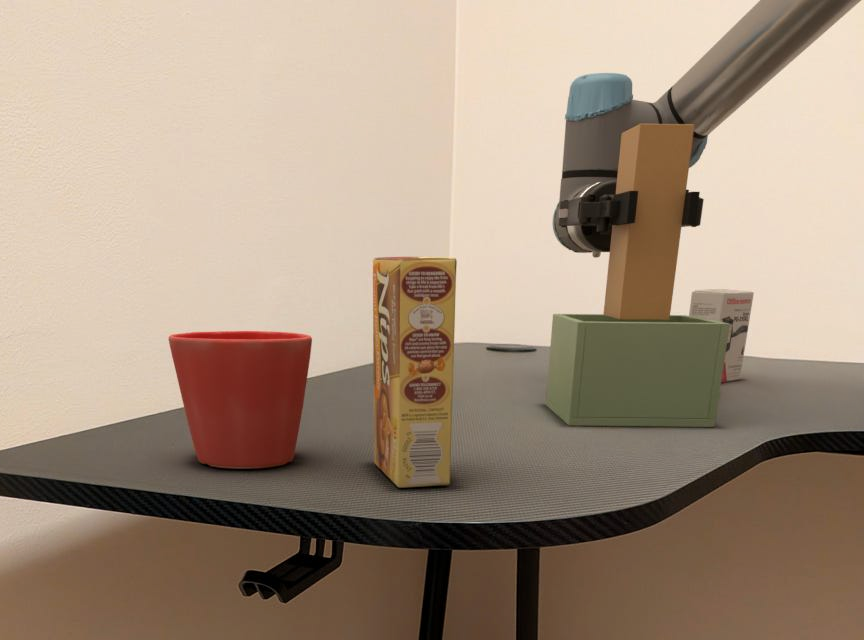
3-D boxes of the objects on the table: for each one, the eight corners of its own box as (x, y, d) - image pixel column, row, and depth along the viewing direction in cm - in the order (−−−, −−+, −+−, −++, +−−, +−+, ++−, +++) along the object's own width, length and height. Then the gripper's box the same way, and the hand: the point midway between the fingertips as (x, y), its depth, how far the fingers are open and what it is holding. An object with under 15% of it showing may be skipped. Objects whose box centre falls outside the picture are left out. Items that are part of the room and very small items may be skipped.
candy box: (452, 487, 65) (462, 257, 59) (395, 490, 65) (399, 256, 59) (420, 462, 73) (426, 256, 67) (369, 464, 72) (370, 256, 66)
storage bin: (673, 406, 103) (685, 315, 99) (714, 427, 91) (730, 323, 87) (545, 405, 103) (552, 313, 99) (568, 425, 90) (578, 321, 87)
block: (650, 316, 96) (672, 133, 90) (669, 320, 90) (694, 124, 83) (603, 315, 96) (621, 133, 90) (619, 319, 90) (640, 123, 83)
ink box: (712, 384, 122) (725, 290, 118) (678, 381, 125) (690, 289, 121) (741, 379, 128) (755, 289, 123) (708, 376, 131) (721, 288, 126)
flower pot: (234, 442, 80) (228, 327, 76) (338, 456, 75) (337, 333, 71) (149, 463, 72) (137, 334, 68) (260, 480, 67) (254, 342, 63)
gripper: (678, 253, 107) (752, 252, 86) (525, 251, 107) (562, 250, 86) (687, 182, 104) (766, 163, 83) (530, 180, 104) (570, 160, 83)
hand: (662, 207), depth 84 cm, fingers closed on block, 5 cm apart
